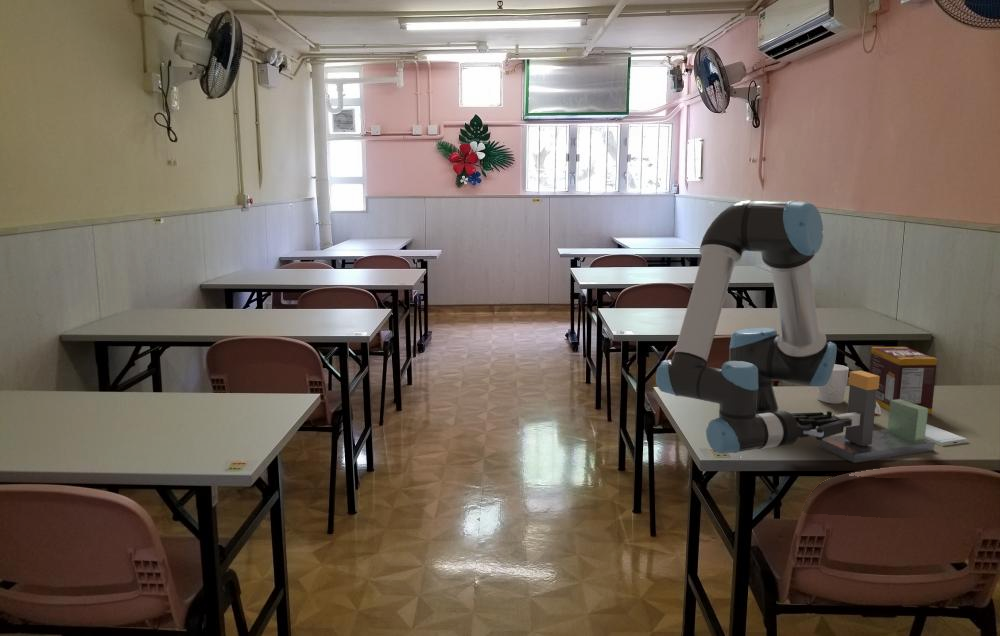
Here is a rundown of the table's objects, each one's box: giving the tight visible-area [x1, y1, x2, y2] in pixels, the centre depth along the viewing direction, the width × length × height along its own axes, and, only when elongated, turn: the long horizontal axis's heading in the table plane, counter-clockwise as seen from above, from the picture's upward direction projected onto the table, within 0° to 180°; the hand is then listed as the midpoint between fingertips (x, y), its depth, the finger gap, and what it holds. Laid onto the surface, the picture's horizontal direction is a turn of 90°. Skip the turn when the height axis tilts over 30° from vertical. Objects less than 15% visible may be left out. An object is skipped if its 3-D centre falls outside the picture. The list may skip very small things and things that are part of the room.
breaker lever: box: [844, 370, 880, 446], centre depth 173 cm, size 3×5×16 cm, turn 20°
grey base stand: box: [817, 399, 936, 464], centre depth 176 cm, size 24×11×10 cm, turn 110°
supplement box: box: [868, 346, 938, 415], centre depth 209 cm, size 10×15×16 cm
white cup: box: [817, 363, 850, 405], centre depth 214 cm, size 8×8×10 cm
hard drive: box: [925, 423, 969, 447], centre depth 185 cm, size 2×8×12 cm
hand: (857, 418), depth 172 cm, fingers closed
